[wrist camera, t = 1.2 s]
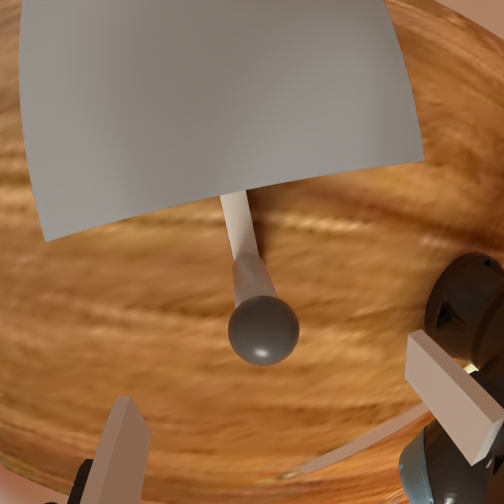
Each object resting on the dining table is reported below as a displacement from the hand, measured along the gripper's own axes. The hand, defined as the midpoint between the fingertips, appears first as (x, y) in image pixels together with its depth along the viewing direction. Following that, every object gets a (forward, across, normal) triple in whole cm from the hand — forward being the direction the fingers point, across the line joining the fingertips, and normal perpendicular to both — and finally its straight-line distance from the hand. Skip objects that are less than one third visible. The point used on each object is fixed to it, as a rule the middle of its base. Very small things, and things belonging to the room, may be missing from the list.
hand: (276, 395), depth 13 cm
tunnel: (+20, 0, -22) cm, 30 cm away
